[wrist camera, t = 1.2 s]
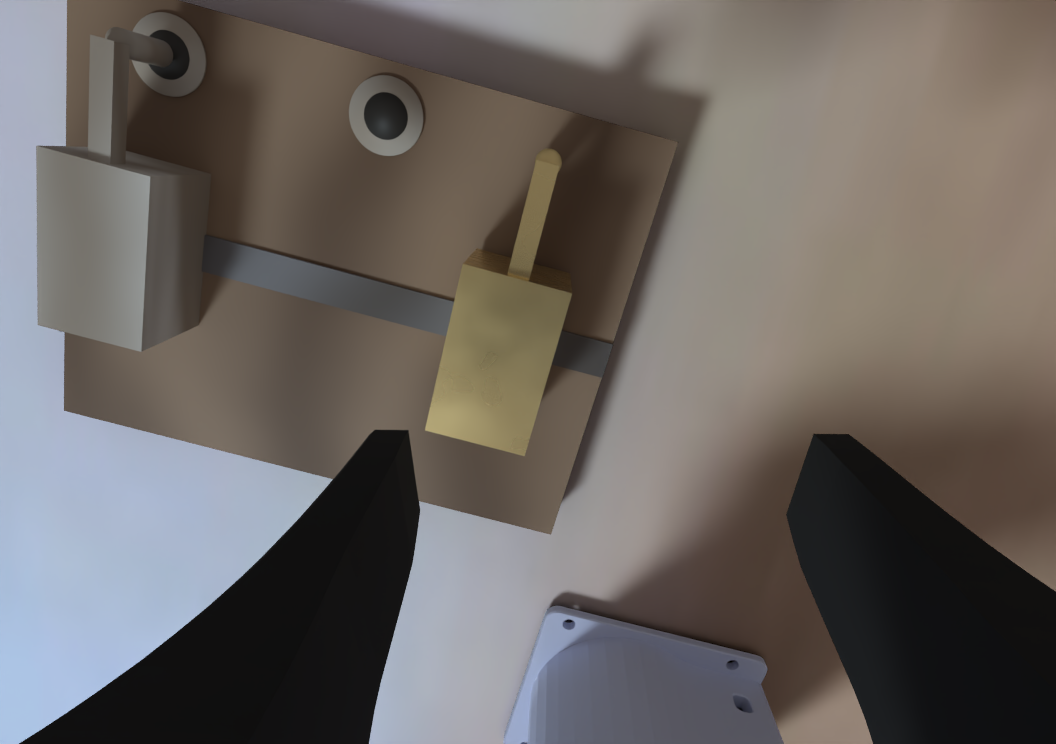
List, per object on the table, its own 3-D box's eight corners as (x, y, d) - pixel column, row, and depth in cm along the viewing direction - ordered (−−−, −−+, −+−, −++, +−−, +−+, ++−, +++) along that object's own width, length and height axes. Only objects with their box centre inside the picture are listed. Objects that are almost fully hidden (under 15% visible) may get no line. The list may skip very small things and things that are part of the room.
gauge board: (669, 143, 19) (700, 139, 15) (551, 512, 24) (549, 588, 20) (104, -17, 19) (-29, -69, 14) (94, 395, 23) (-10, 447, 19)
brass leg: (602, 163, 18) (609, 164, 15) (529, 415, 21) (524, 456, 18) (503, 136, 18) (492, 131, 15) (443, 393, 21) (425, 430, 18)
